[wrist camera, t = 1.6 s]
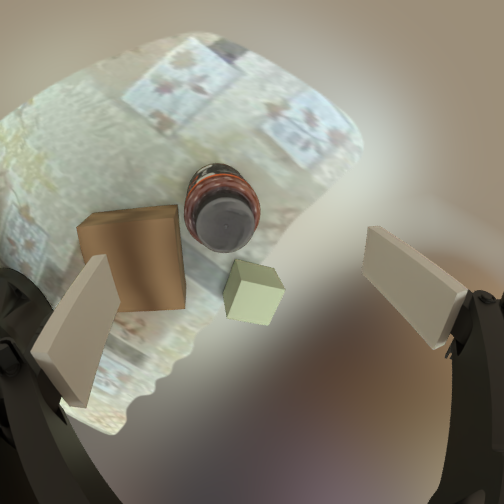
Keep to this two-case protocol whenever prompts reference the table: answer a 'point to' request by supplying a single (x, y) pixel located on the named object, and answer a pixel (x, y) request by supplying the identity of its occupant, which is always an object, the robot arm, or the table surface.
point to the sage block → (252, 293)
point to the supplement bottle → (221, 208)
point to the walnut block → (139, 255)
